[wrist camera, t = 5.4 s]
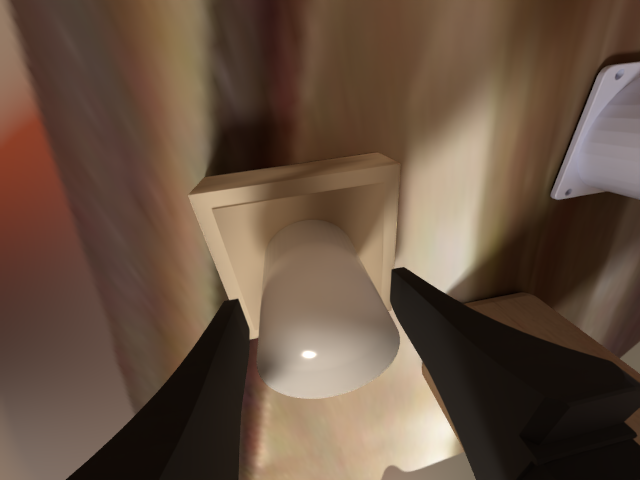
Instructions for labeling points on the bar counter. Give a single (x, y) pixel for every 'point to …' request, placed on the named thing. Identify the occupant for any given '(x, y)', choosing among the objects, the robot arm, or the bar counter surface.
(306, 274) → the white rounded cylinder
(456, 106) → the bar counter surface
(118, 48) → the bar counter surface
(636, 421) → the wooden block
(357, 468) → the bar counter surface
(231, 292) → the base
